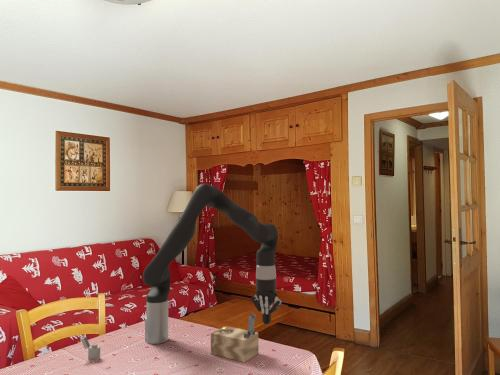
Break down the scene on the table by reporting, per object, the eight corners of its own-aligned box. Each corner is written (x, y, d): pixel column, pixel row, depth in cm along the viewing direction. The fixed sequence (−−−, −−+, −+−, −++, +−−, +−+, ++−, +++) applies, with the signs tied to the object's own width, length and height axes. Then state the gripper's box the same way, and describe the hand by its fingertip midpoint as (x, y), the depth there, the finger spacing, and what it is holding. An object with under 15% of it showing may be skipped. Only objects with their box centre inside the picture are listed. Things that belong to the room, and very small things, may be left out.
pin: (220, 352, 151) (220, 328, 151) (225, 349, 154) (225, 325, 154) (227, 353, 149) (226, 329, 150) (232, 350, 152) (232, 326, 152)
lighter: (100, 357, 147) (100, 336, 148) (98, 359, 145) (98, 338, 146) (82, 357, 148) (83, 336, 148) (80, 359, 146) (80, 338, 146)
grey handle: (248, 316, 144) (251, 316, 144) (253, 313, 147) (256, 314, 147) (246, 336, 145) (248, 337, 144) (251, 333, 148) (253, 334, 147)
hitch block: (210, 353, 150) (210, 328, 150) (226, 345, 158) (225, 322, 159) (244, 362, 141) (244, 336, 141) (258, 353, 149) (258, 328, 150)
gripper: (286, 276, 142) (287, 323, 142) (256, 273, 149) (257, 318, 149) (276, 280, 136) (277, 329, 135) (245, 276, 143) (246, 323, 142)
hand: (266, 323), depth 142 cm, fingers closed
